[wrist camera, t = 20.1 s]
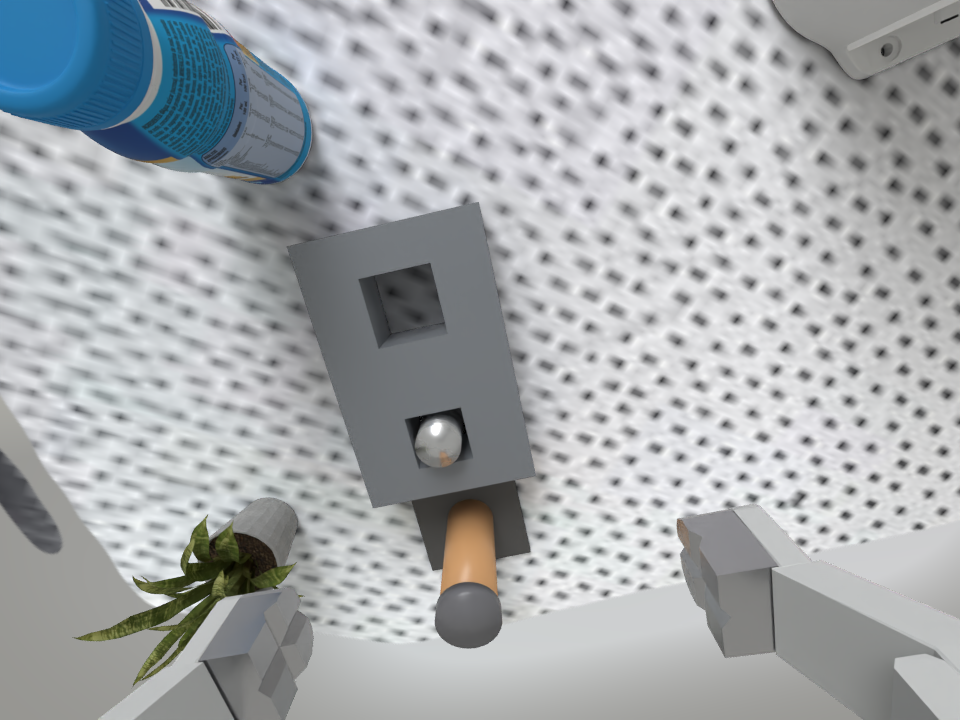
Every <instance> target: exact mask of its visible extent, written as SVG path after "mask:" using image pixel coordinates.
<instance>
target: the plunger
mask: <svg viewBox="0 0 960 720" xmlns="http://www.w3.org/2000/svg"><path fill="white" fill-rule="evenodd" d="M462 428H463V415H462V411H461V409H460V408H456V409H451V410H446V411H441V412H436V413H432V414H427V415H423V417H422V420H421V424H420V427H419V431H418V434H417V438H416V442H415V451H416V454H417V456H418V457H419V459H420V460H421V461H422V462H423V463H425V464H427V465H429V466H431V467H437V468H439V467H446V466H448V465H450V464H452V463H453V462H455V461H456V460H457V458H458V457H459V455H460V452H461V443H462Z"/></svg>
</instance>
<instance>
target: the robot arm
mask: <svg viewBox="0 0 960 720" xmlns="http://www.w3.org/2000/svg"><path fill="white" fill-rule="evenodd" d="M772 1H773V3H774V4H775V6H776V8H777V10H778V11H779V13H780V14H781V16H782V17H783V18H784V20H785V21H786V22H787V23H788V24H789V25H790V26H791V27H792V28H793V29H794V30H795V31H797V32H798V33H799V34H801V35H802V36H804V37H805V38H807V39H809V40H811V41H813V42H815V43H817V44H819V45H821V46H823V47H825V48H826V49H828V50H829V51H830V52H831V53H832V54H833V56H834V57H835V59H836V60H837V62H838V63H839V65H840V66H841V67H842V69H843V70H844V71H845V72H846V73H847V74H848V75H849V76H850V77H851V78H853V79H857V80H861V79H865V78H868V77H870V76H872V75H874V74H877V73H879V72H881V71H883V70H886V69H888V68H890V67H892V66H895V65H897V64H899V63H901V62H903V61H906V60H908V59H910V58H912V57H915V56H917V55H919V54H921V53H924V52H926V51H928V50H930V49H933V48H935V47H937V46H939V45H941V44H944V43H946V42H948V41H950V40H953V39H955V38H957V37H959V36H960V0H772ZM882 48H883V49H884V56H882V54H881V49H882ZM677 533H678V537H679V539H680V540H681V542H682V544H683V546H684V549H683V550H682V552H681V553H680V557H681V563H682V569H683V572H684V576H685V580H686V583H687V585H688V588H689V590H690V592H691V595H692V597H693V599H694V601H695V602H696V604H697V605H698V606H699V607H701V608H702V609H704V610H706V616H707V624H708V627H709V629H710V631H711V632H712V634H713V636H714V638H715V640H716V642H717V643H718V645H719V647H720V649H721V651H722V653H723V655H724V657H725V658H728V657H737V656H746V655H755V654H763V653H771V652H776V655H777V656H778V657H780V658H781V659H783V660H784V661H785V662H787V663H788V664H789V665H791V666H792V667H793V668H795V669H796V670H797V671H799V672H800V673H801V674H803V675H804V676H805V677H807V678H808V679H809V680H811V681H812V682H813V683H815V684H816V685H817V686H819V687H820V688H821V689H823V690H824V691H825V692H827V693H828V694H829V695H831V696H832V697H834V698H835V699H836V700H838V701H839V702H840V703H842V704H843V705H844V706H846V707H847V708H848V709H850V710H851V711H852V712H854V713H855V714H856V715H858V716H859V717H861V718H862V719H863V720H960V619H958V618H956V617H953V616H951V615H949V614H947V613H944V612H942V611H940V610H937V609H935V608H932V607H930V606H928V605H925V604H923V603H921V602H918V601H916V600H914V599H911V598H909V597H907V596H904V595H902V594H900V593H897V592H895V591H893V590H890V589H888V588H885V587H883V586H881V585H878V584H876V583H874V582H871V581H869V580H867V579H864V578H862V577H860V576H857V575H855V574H852V573H850V572H848V571H845V570H843V569H841V568H838V567H836V566H834V565H832V564H829V563H827V562H824V561H822V560H819V561H812V560H811V559H810V558H809V557H808V556H807V555H806V554H805V553H804V552H803V551H802V550H801V549H800V548H799V546H798V545H797V544H796V543H795V542H794V541H793V540H792V539H791V538H790V537H789V536H788V535H787V534H786V533H785V532H784V531H783V530H782V529H781V527H780V526H779V525H778V524H777V523H776V522H775V521H774V520H773V519H772V518H771V517H770V516H769V515H768V514H767V513H766V512H765V511H764V510H763V509H762V507H761V506H759V505H757V504H755V503H754V504H749V505H744V506H739V507H734V508H729V509H728V510H722V511H717V512H711V513H706V514H700V515H695V516H689V517H684V518H678V519H677ZM300 602H301V600H300V598H299V596H298V594H297V592H296V590H295V589H293V588H289V587H287V588H281V589H274V590H267V591H261V592H254V593H248V594H245V595H237V596H231V597H225V598H224V599H222V600H220V601H218V602H217V604H216V605H215V606H214V608H213V609H212V611H211V612H210V613H209V615H208V616H207V618H206V619H205V620H204V622H203V623H202V625H201V626H200V627H199V629H198V630H197V631H196V633H195V634H194V636H193V637H192V638H191V640H190V641H189V643H188V644H187V645H186V647H185V648H184V650H183V651H182V652H181V654H180V655H179V657H178V658H177V660H176V661H175V662H174V664H173V665H172V667H168V668H164V669H162V670H161V671H160V672H158V673H157V674H156V675H155V676H153V677H152V678H151V679H149V680H148V681H147V682H145V683H144V684H143V685H142V686H140V687H139V688H138V689H136V690H135V691H134V692H133V693H132V694H130V695H129V696H128V697H126V698H125V699H124V700H123V701H121V702H120V703H119V704H117V705H116V706H115V707H113V708H112V709H111V710H109V711H108V712H107V713H106V714H104V715H103V716H102V717H100V718H99V719H98V720H285V718H286V716H287V714H288V711H289V709H290V706H291V704H292V701H293V699H294V697H295V694H296V692H297V685H296V681H295V679H296V678H297V677H298V676H299V674H300V673H301V672H302V671H303V670H304V669H305V668H306V667H307V665H308V662H309V659H310V657H311V654H312V647H313V631H312V626H311V623H310V621H309V619H308V617H307V616H305V615H304V614H302V613H301V612H299V611H298V608H299V605H300Z"/></svg>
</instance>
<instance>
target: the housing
mask: <svg viewBox="0 0 960 720" xmlns="http://www.w3.org/2000/svg"><path fill="white" fill-rule="evenodd" d="M287 249H288V252H289V255H290V258H291V261H292V264H293V267H294V270H295V273H296V276H297V279H298V282H299V285H300V288H301V291H302V294H303V297H304V300H305V303H306V306H307V309H308V312H309V315H310V319H311V322H312V325H313V328H314V331H315V334H316V337H317V340H318V343H319V346H320V349H321V352H322V355H323V358H324V361H325V364H326V367H327V370H328V373H329V376H330V379H331V382H332V385H333V388H334V391H335V394H336V397H337V400H338V403H339V406H340V409H341V412H342V415H343V419H344V422H345V425H346V428H347V431H348V434H349V437H350V440H351V443H352V446H353V449H354V452H355V455H356V458H357V461H358V464H359V467H360V470H361V473H362V476H363V479H364V482H365V485H366V488H367V491H368V494H369V497H370V500H371V503H372V506H373V508H377V507H382V506H387V505H392V504H397V503H402V502H407V501H412V500H417V499H422V498H427V497H432V496H437V495H442V494H447V493H452V492H457V491H462V490H467V489H472V488H477V487H483V486H488V485H493V484H498V483H503V482H508V481H513V480H518V479H523V478H528V477H533V476H536V474H535V469H534V464H533V460H532V455H531V450H530V445H529V441H528V436H527V431H526V426H525V421H524V417H523V412H522V407H521V402H520V398H519V393H518V388H517V383H516V378H515V374H514V369H513V364H512V359H511V355H510V350H509V345H508V340H507V335H506V331H505V326H504V321H503V316H502V312H501V307H500V302H499V297H498V292H497V288H496V283H495V278H494V273H493V268H492V264H491V259H490V254H489V249H488V245H487V240H486V235H485V230H484V225H483V221H482V216H481V211H480V206H479V202H476V203H472V204H468V205H463V206H459V207H455V208H450V209H446V210H442V211H438V212H433V213H429V214H425V215H420V216H416V217H412V218H407V219H403V220H399V221H395V222H390V223H386V224H382V225H377V226H373V227H369V228H364V229H360V230H356V231H352V232H347V233H343V234H339V235H334V236H330V237H326V238H321V239H317V240H313V241H309V242H304V243H300V244H296V245H291V246H287ZM427 263H430V264H431V268H432V272H433V276H434V280H435V284H436V288H437V292H438V296H439V300H440V304H441V308H442V312H443V317H444V321H445V322H444V323H440V324H435V325H431V326H426V327H422V328H417V329H412V330H408V331H403V332H399V333H394V334H390V330H389V327H388V323H387V320H386V316H385V313H384V309H383V306H382V302H381V299H380V295H379V291H378V288H377V284H376V281H375V277H374V275H378V274H383V273H387V272H392V271H396V270H400V269H405V268H409V267H414V266H418V265H422V264H427ZM460 407H461V411H462V415H463V419H464V423H465V427H466V431H467V434H462V443H461V452H460V455H459V457H458V458H457V460H456V461H455V462H453V463H452V464H450V465H448V466H446V467H439V468H437V467H431V466H429V465H427V464H425V463H423V462H422V461H421V460H420V459H419V457H418V456H417V454H416V451H415V442H416V438H417V434H418V431H419V427H420V421H419V417H418V416H422V415H427V414H432V413H436V412H441V411H446V410H451V409H456V408H460Z"/></svg>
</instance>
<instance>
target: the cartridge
mask: <svg viewBox="0 0 960 720" xmlns="http://www.w3.org/2000/svg"><path fill="white" fill-rule="evenodd" d="M501 626H502V614H501V603H500V600H499V598H498V593H497V575H496V558H495V541H494V524H493V514H492V511H491V510H490V508H489V507H488V506H487V505H486V504H485V503H483V502H481V501H479V500H474V499H467V500H462V501H460V502H458V503H456V504H455V505H454V506H453V507H452V508H451V509H450V511H449V514H448V521H447V531H446V541H445V551H444V562H443V572H442V582H441V592H440V597H439V599H438V601H437V605H436V615H435V627H436V630H437V632H438V634H439V635H440V636H441V638H442V639H443V640H445V641H446V642H447V643H449V644H451V645H454V646H456V647H460V648H477V647H480V646H484V645H486V644H488V643H489V642H491V641H492V640H493V639H494V638H495V637H496V636H497V635H498V633H499V631H500V629H501Z"/></svg>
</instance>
